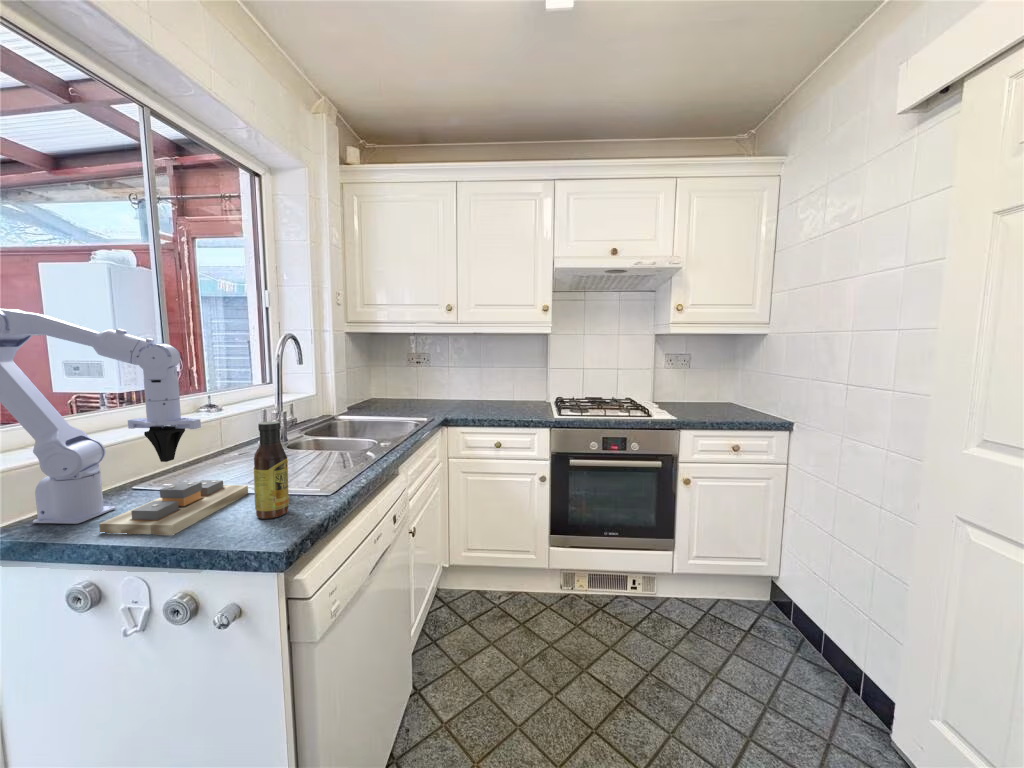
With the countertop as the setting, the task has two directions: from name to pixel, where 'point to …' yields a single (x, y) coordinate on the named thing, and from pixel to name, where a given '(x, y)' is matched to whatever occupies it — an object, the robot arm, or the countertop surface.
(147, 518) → the grey square block
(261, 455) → the sauce bottle
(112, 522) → the beige drawer frame
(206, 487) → the three-dot tile
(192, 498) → the two-dot tile
